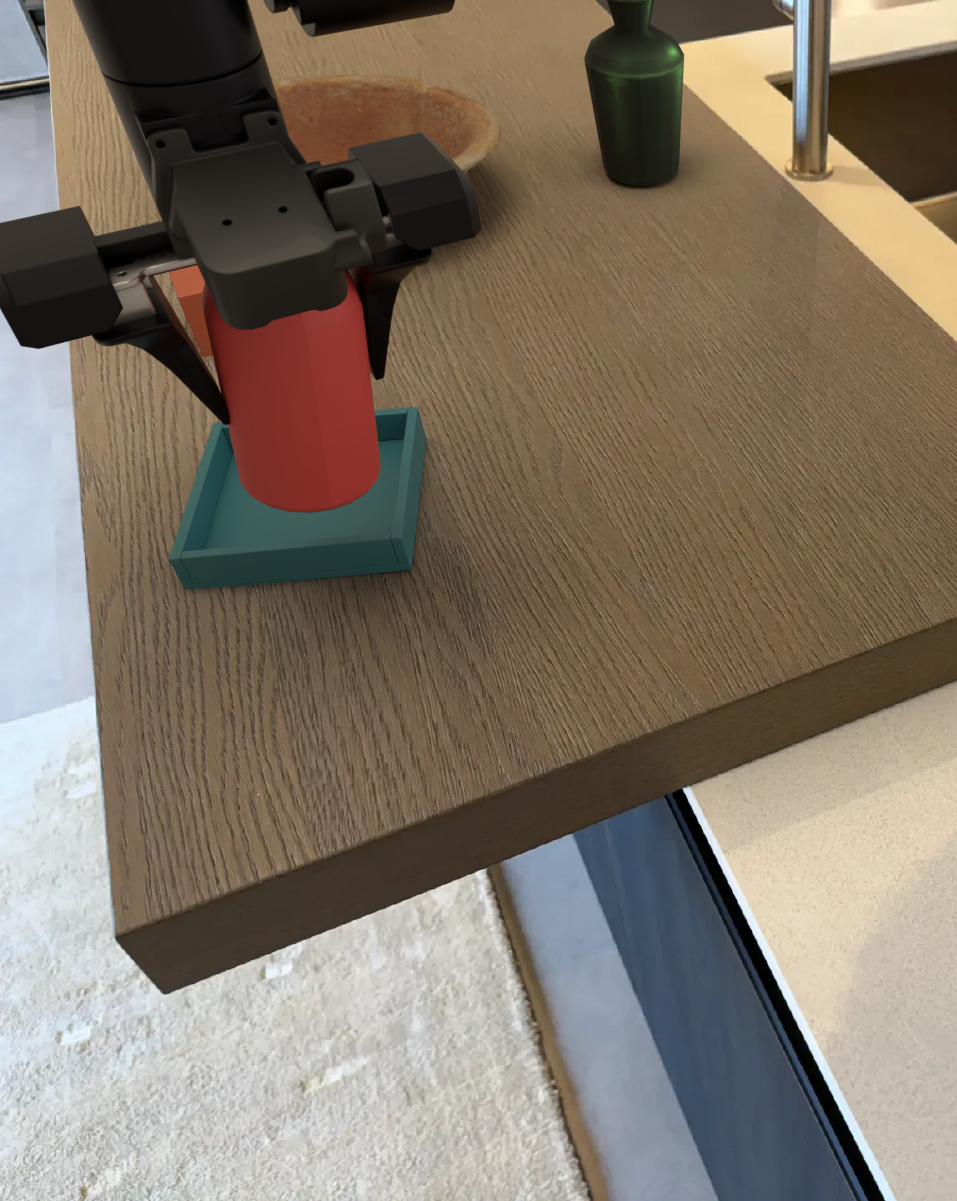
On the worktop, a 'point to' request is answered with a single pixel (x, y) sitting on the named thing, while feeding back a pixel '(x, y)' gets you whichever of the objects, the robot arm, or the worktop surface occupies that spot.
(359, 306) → the beer can
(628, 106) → the potion bottle
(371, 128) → the bowl
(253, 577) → the tray
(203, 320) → the terracotta block
